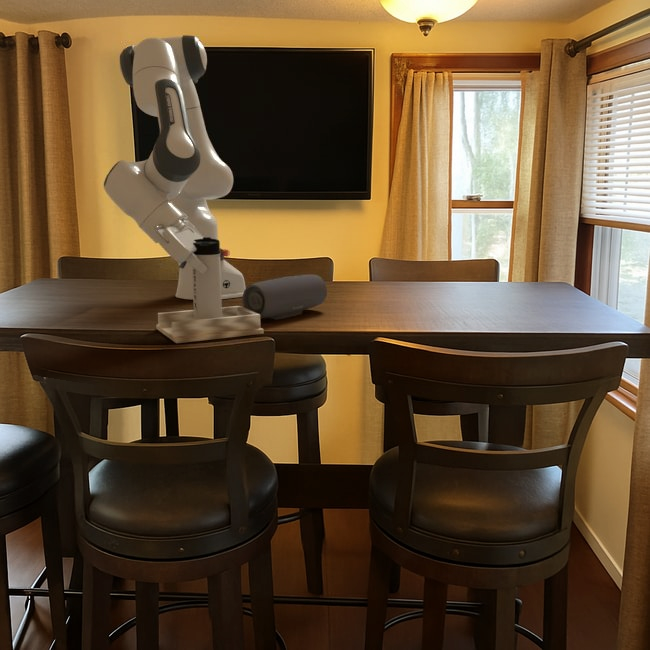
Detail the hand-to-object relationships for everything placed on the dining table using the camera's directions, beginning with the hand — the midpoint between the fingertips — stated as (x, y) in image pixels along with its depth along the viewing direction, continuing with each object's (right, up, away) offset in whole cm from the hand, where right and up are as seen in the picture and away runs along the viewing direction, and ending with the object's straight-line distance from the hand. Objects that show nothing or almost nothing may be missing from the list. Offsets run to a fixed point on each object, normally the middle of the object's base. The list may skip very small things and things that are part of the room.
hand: (210, 268), depth 154 cm
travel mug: (-1, -13, +3) cm, 14 cm away
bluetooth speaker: (+16, -11, +21) cm, 28 cm away
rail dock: (-1, -14, +3) cm, 14 cm away
